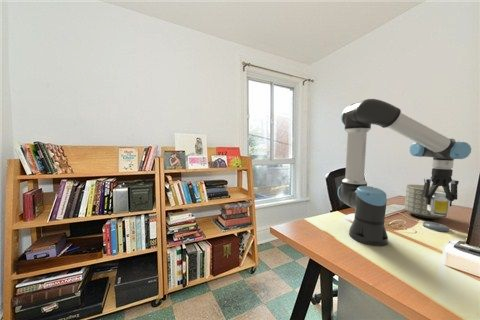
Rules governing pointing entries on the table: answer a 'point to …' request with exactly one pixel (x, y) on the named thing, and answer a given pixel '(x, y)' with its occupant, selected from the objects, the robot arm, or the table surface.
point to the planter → (419, 202)
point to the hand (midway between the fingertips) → (437, 211)
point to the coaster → (436, 226)
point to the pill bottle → (439, 204)
